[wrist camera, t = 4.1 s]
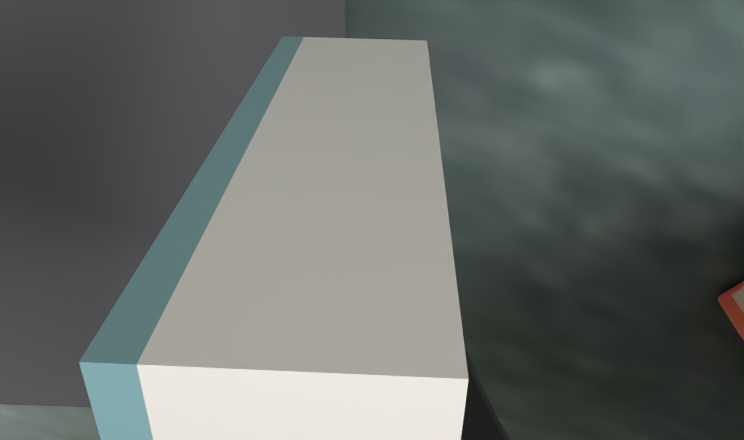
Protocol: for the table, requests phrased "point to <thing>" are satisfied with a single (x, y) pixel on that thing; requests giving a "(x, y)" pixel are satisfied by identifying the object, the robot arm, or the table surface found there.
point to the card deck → (299, 269)
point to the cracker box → (734, 306)
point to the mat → (109, 153)
